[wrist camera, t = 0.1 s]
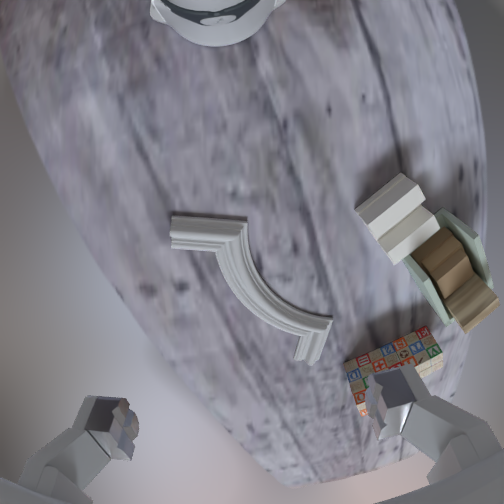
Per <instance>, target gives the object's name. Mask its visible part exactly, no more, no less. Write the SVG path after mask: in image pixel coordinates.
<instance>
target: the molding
mask: <svg viewBox="0 0 504 504" xmlns="http://www.w3.org/2000/svg"><path fill="white" fill-rule="evenodd" d="M247 225H248V222H247V221H241V220H229V219H216V218H203V217H189V216H174V215H172V221H171V227H170V237H172V240H171V242H172V244H171V247H172V248H174V249H187V250H200V251H213V252H215V254H216V257H217V261H218V264H219V266H220V269H221V271H222V274H223V276H224V278H225V280H226V281H227V283H228V285H229V286H230V288H231V290H232V291H233V292H234V294H235V295H236V296H237V298H238V299H239V300H240V301H241V302H242V303H243V304H244V305H245V306H246V307H247V308H248V309H249V310H250V311H251V312H252V313H254V314H255V315H256V316H257V317H259V318H260V319H262V320H263V321H265V322H267V323H268V324H270V325H272V326H274V327H276V328H278V329H280V330H283V331H285V332H288V333H291V334H294V335H298V336H300V337H299V341H298V344H297V348H296V351H295V354H294V360H296V361H302V360H305V361H306V363H307V364H308V365H314V362H316V360H319V358H320V355H321V352H322V350H323V347H324V344H325V341H326V339H327V336H328V333H329V330H330V327H331V325H332V322H333V318H330V317H322V316H316V315H312V314H309V313H306V312H303V311H301V310H298V309H296V308H294V307H292V306H290V305H289V304H287V303H286V302H284V301H283V300H281V299H280V298H279V297H278V296H277V295H275V294H274V293H273V292H272V291H271V290H270V288H269V287H268V286H267V285H266V284H265V282H264V281H263V279H262V278H261V276H260V275H259V273H258V271H257V269H256V267H255V265H254V262H253V260H252V256H251V253H250V249H249V244H248V234H247Z"/></svg>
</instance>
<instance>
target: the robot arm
mask: <svg viewBox="0 0 504 504" xmlns="http://www.w3.org/2000/svg"><path fill="white" fill-rule="evenodd" d="M285 1H286V0H151V7H150V15H151V17H152V18H153V19H154V20H155V21H158V22H161V23H164V24H167V25H169V26H171V27H172V28H173V29H174V30H175V31H176V32H177V33H178V34H180V35H181V36H182V37H184V38H185V39H187V40H189V41H191V42H193V43H196V44H200V45H204V46H226V45H231V44H234V43H238V42H240V41H242V40H245V39H247V38H248V37H250V36H251V35H253V34H254V33H255V32H257V31H258V30H259V29H260V28H261V27H262V25H263V24H264V23H265V21H266V20H267V18H268V16H269V15H270V13H271V12H272V11H273V10H274V9H276V8H277V7H279V6H281V5H282V4H283V3H284V2H285ZM367 382H368V385H369V388H368V389H367V390H366V392H365V405H366V410H367V413H368V415H369V416H370V417H371V418H373V419H374V421H373V425H372V426H373V429H374V432H375V435H376V437H377V440H382V439H386V438H389V437H393V436H397V435H400V434H401V436H402V437H403V438H405V439H406V440H407V441H408V442H410V443H411V444H412V445H414V446H415V447H416V448H418V449H419V450H420V451H422V452H423V453H424V454H426V455H427V456H428V457H430V458H431V459H432V460H434V461H435V462H436V463H435V465H434V466H433V468H432V469H431V471H430V472H429V474H428V475H427V479H428V481H429V484H430V485H428V486H425V487H423V488H420V489H418V490H415V491H412V492H409V493H407V494H404V495H401V496H398V497H395V498H392V499H389V500H385V501H382V502H379V503H375V504H504V448H503V449H502V447H501V445H500V443H499V442H498V440H497V438H496V437H495V435H494V433H493V431H492V430H491V428H490V426H489V425H488V423H487V422H486V421H484V420H482V419H480V418H478V417H476V416H474V415H472V414H470V413H468V412H467V411H464V410H463V409H461V408H459V407H457V406H455V405H453V404H451V403H449V402H447V401H445V400H443V399H441V398H439V397H437V396H436V395H435V396H431V395H430V393H429V391H428V389H427V388H426V386H425V384H424V382H423V381H422V379H421V377H420V376H419V374H418V372H417V371H416V369H415V367H414V366H413V365H412V364H408V365H404V366H400V367H397V368H392V369H388V370H384V371H380V372H376V373H372V374H370V375H369V376H368V381H367ZM129 405H130V404H129V403H128V401H127V399H126V398H116V397H102V396H91V395H88V396H87V397H85V399H84V401H83V403H82V405H81V408H80V410H79V412H78V415H77V417H76V419H75V421H74V424H73V426H72V428H68V429H66V430H65V431H64V432H62V433H61V434H60V435H59V436H57V437H56V438H55V439H53V440H52V441H51V442H49V443H48V444H47V445H45V446H44V447H43V448H41V449H40V450H39V451H37V452H36V453H35V454H33V455H32V456H31V457H30V458H28V460H27V462H26V464H25V467H24V469H23V472H22V474H21V476H20V479H19V481H18V484H15V483H13V482H11V481H8V480H6V479H4V478H2V477H0V504H92V503H93V500H92V499H91V497H89V496H88V495H87V494H86V493H84V492H83V490H84V489H85V488H86V487H87V485H88V484H89V483H90V482H91V481H92V480H93V479H94V478H95V477H96V476H97V474H99V473H100V471H101V470H102V469H103V468H104V467H105V466H106V465H107V464H108V463H109V461H110V460H111V459H118V460H130V461H131V460H132V456H133V452H134V448H135V445H134V443H133V440H134V439H135V438H136V437H137V436H138V432H139V422H138V419H137V416H136V414H135V413H134V412H133V411H132V410H130V409H129Z"/></svg>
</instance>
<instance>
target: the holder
mask: <svg viewBox="0 0 504 504" xmlns="http://www.w3.org/2000/svg"><path fill="white" fill-rule="evenodd" d="M424 200H426V199H425V197H424V195H423V193H422V191H421V189H420V187H419V185H418V184H417V183H415V182H414V181H412V180H410V179H409V178H407V177H406V176H405V175H404V174H402V173H399V174H398V175H397V176H396V177H394V178H393V179H392V180H391V181H389V182H388V183H387V184H386V185H384V186H383V187H382V188H381V189H380V190H378V191H377V192H376V193H375V194H373V195H372V196H371V197H370V198H368V199H367V200H366V201H365V202H363V203H362V204H361V205H360V206H358V207H357V208H356V209H355V211H356V213H357V214H358V215H359V217H360V218H361V220H362V221H363V222H364V224H365V225H366V227H367V228H368V229H369V231H370V232H371V234H372V235H373V237H374V238H375V240H376V241H377V242H378V244H379V245H380V247H381V248H382V250H383V251H384V252H385V254H386V255H387V256H388V257H389V259H390V260H391V261H392V263H393V264H394V265H396V264H397V263H398V262H400V261H401V260H402V259H403V258H405V257H406V256H407V255H408V254H410V253H411V252H412V251H413V250H415V249H416V248H417V247H418V246H420V245H421V244H422V243H423V242H424V241H426V240H427V239H428V238H429V237H430V236H432V235H433V234H434V233H435V232H436V231H438V230H439V229H440V227H439V225H438V223H437V220H436V218H435V216H434V215H433V214H432V213H431V212H429V211H428V210H427V209H425V208H424V207H423V206H422V205H421V203H422V202H423V201H424Z"/></svg>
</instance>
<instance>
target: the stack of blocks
mask: <svg viewBox="0 0 504 504" xmlns="http://www.w3.org/2000/svg"><path fill="white" fill-rule="evenodd" d="M343 364H344V367H345V370H346V373H347V377H348V380H349V383H350V388H351V391H352V394H353V396H354V399H355V402H356V405H357V408H358V410H359V412H360V414H361V416H365V415H367V414H368V413H367V410H366V405H365V392H366V390H367V389H368V388H369V385H368V382H367V381H368V376H369V375H370V374H372V373H376V372H380V371H384V370H388V369H392V368H397V367H400V366H404V365H408V364H412V365H413V366H414V367H415V369H416V371H417V372H418V374H419V376H420V377H421V378H423V377H425V376H427V375H429V374H431V373H432V372H434V371H436V370H438V369H440V368H442V367H443V352H442V350H441V349H440V347H439V345H438V344H437V343H436V341H435V339H434V337H433V336H432V334H431V333H430V331H429V329H428V328H427V326H424V327H423V328H421V329H419V330H417V331H415V332H412V333H410V334H408V335H406V336H404V337H402V338H400V339H398V340H395V341H393V342H392V343H389V344H387V345H385V346H383V347H381V348H379V349H376V350H374V351H372V352H370V353H367V354H365V355H362V356H360V357H358V358H355V359H353V360H350V361H348V362H345V363H343Z"/></svg>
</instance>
